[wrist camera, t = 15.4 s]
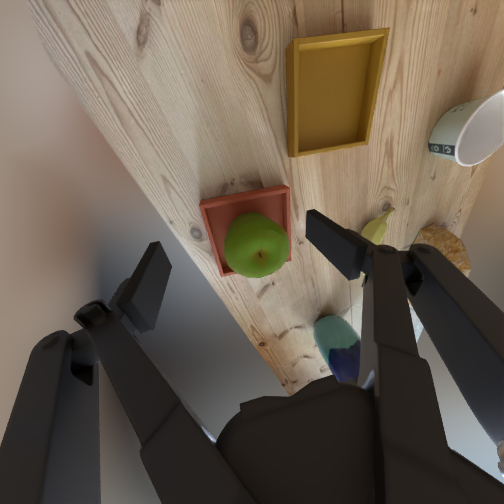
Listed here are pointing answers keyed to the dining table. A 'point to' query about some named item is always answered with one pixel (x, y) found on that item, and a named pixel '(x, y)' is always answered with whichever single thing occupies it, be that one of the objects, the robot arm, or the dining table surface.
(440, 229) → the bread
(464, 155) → the food container
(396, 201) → the dining table surface
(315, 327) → the vase
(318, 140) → the ochre tray
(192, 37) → the dining table surface
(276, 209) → the clay tray
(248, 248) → the apple
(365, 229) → the banana
